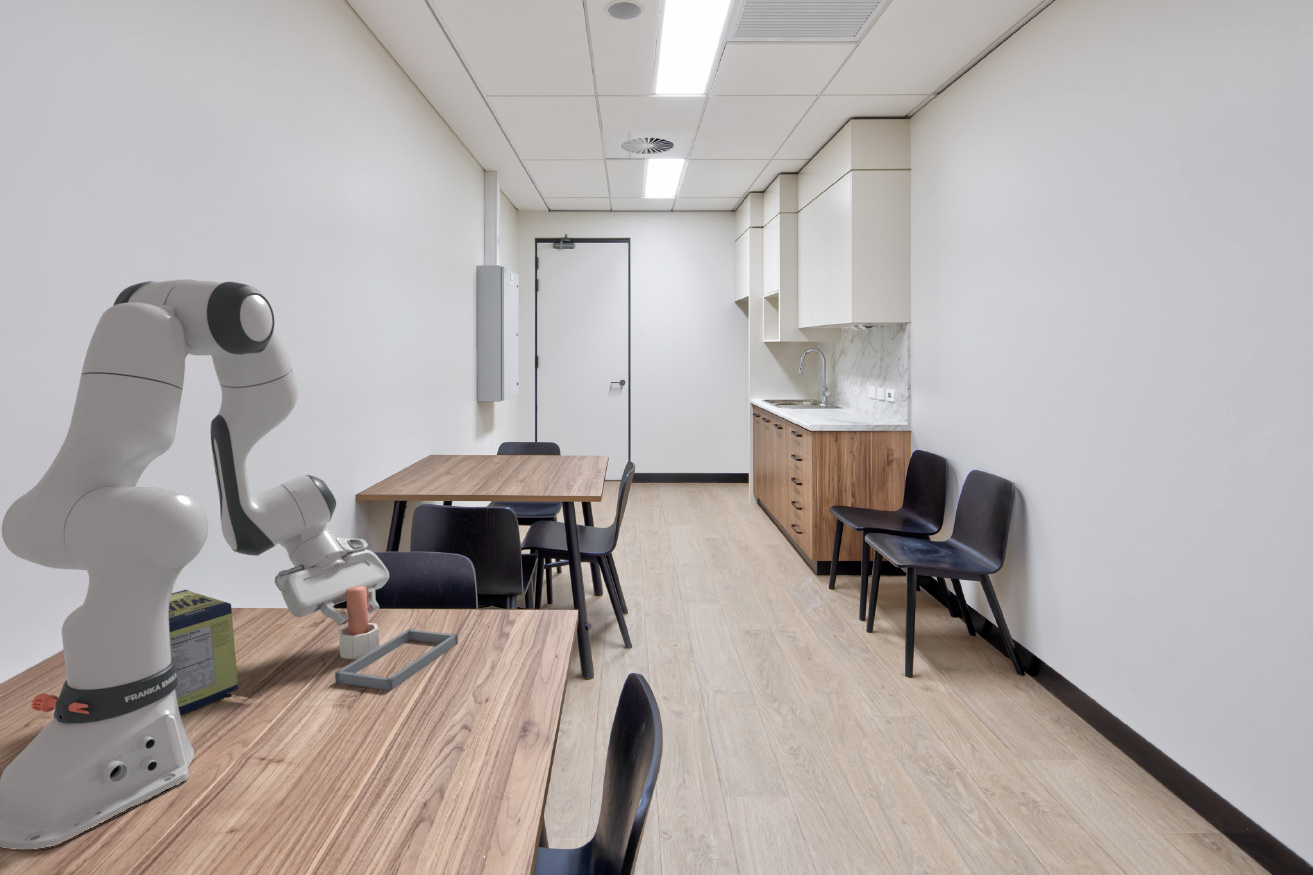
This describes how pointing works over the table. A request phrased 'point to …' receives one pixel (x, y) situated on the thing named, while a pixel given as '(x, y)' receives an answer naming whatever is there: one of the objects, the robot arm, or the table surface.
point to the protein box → (201, 649)
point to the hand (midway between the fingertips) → (360, 616)
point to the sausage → (357, 610)
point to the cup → (358, 642)
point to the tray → (350, 671)
